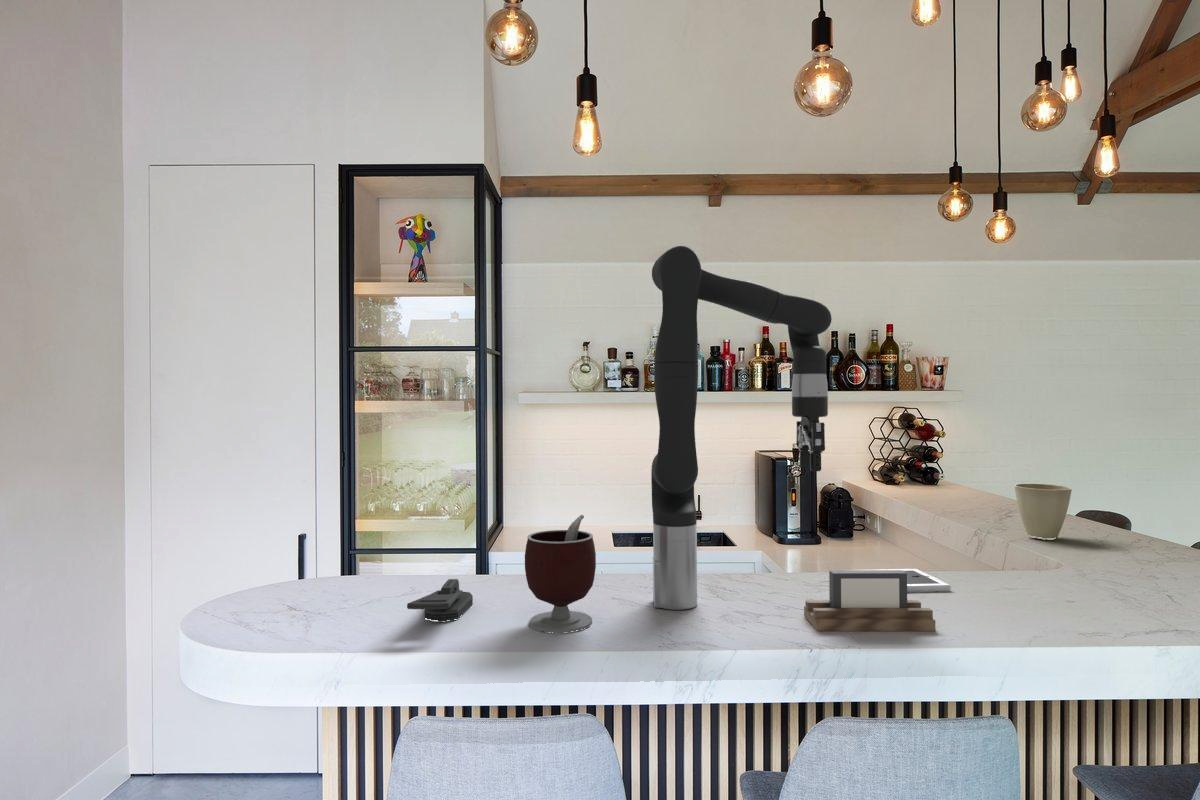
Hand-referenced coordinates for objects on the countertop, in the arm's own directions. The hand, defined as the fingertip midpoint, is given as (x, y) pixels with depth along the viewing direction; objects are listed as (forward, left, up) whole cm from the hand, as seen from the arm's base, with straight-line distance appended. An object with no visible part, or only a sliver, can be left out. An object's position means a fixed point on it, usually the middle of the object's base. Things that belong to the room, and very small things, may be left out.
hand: (810, 469), depth 156 cm
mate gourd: (-53, -17, -28) cm, 62 cm away
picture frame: (+22, +12, -29) cm, 38 cm away
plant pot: (+88, +65, -28) cm, 113 cm away
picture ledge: (+6, -18, -28) cm, 34 cm away
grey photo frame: (+6, -18, -26) cm, 32 cm away
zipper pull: (-77, -15, -28) cm, 84 cm away
